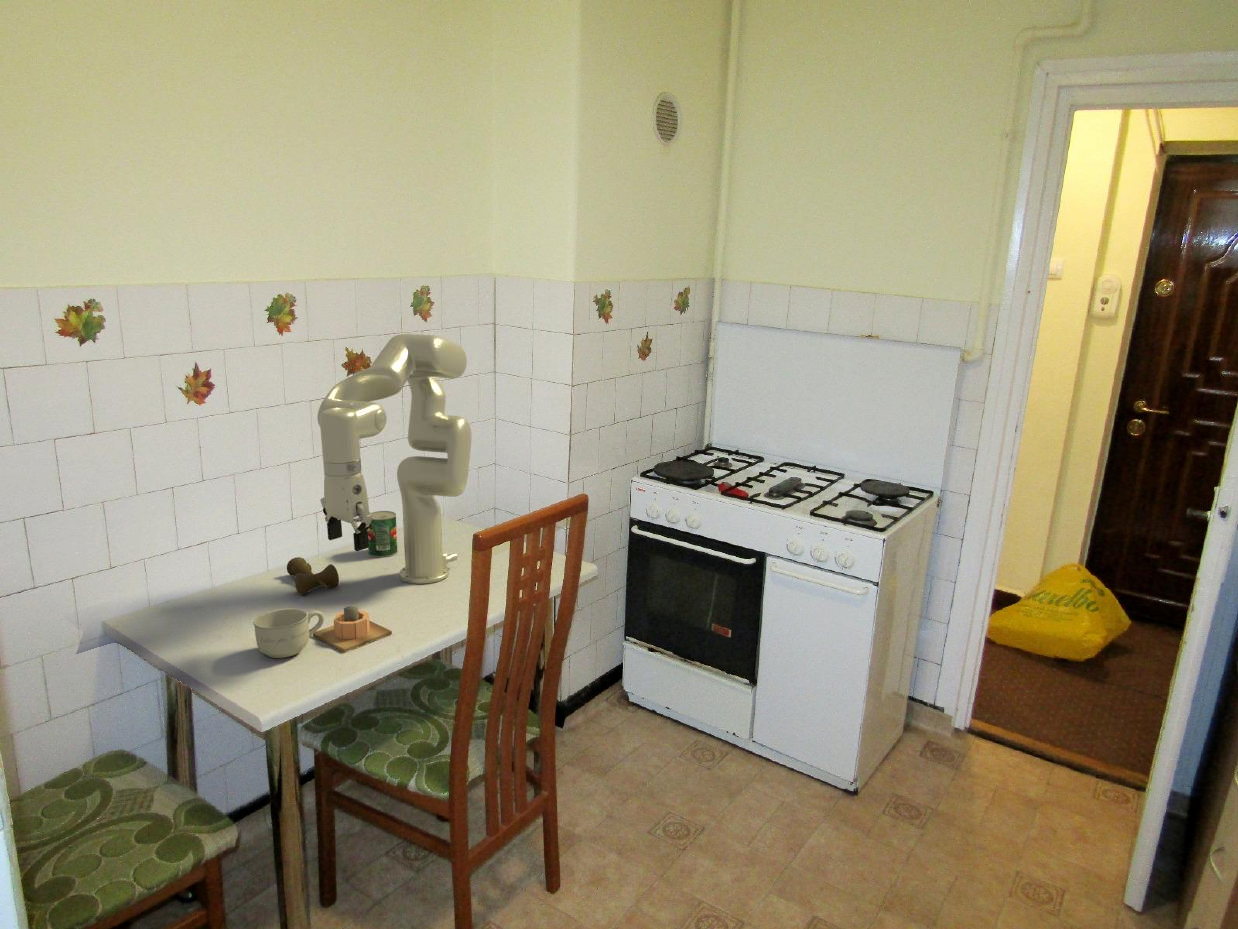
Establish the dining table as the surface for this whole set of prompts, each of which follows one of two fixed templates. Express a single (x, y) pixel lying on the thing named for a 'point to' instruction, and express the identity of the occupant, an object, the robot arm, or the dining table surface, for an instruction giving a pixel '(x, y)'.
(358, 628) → the ring
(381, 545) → the canned tomato
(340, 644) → the post plate
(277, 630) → the teacup
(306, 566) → the kendama
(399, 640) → the dining table surface
